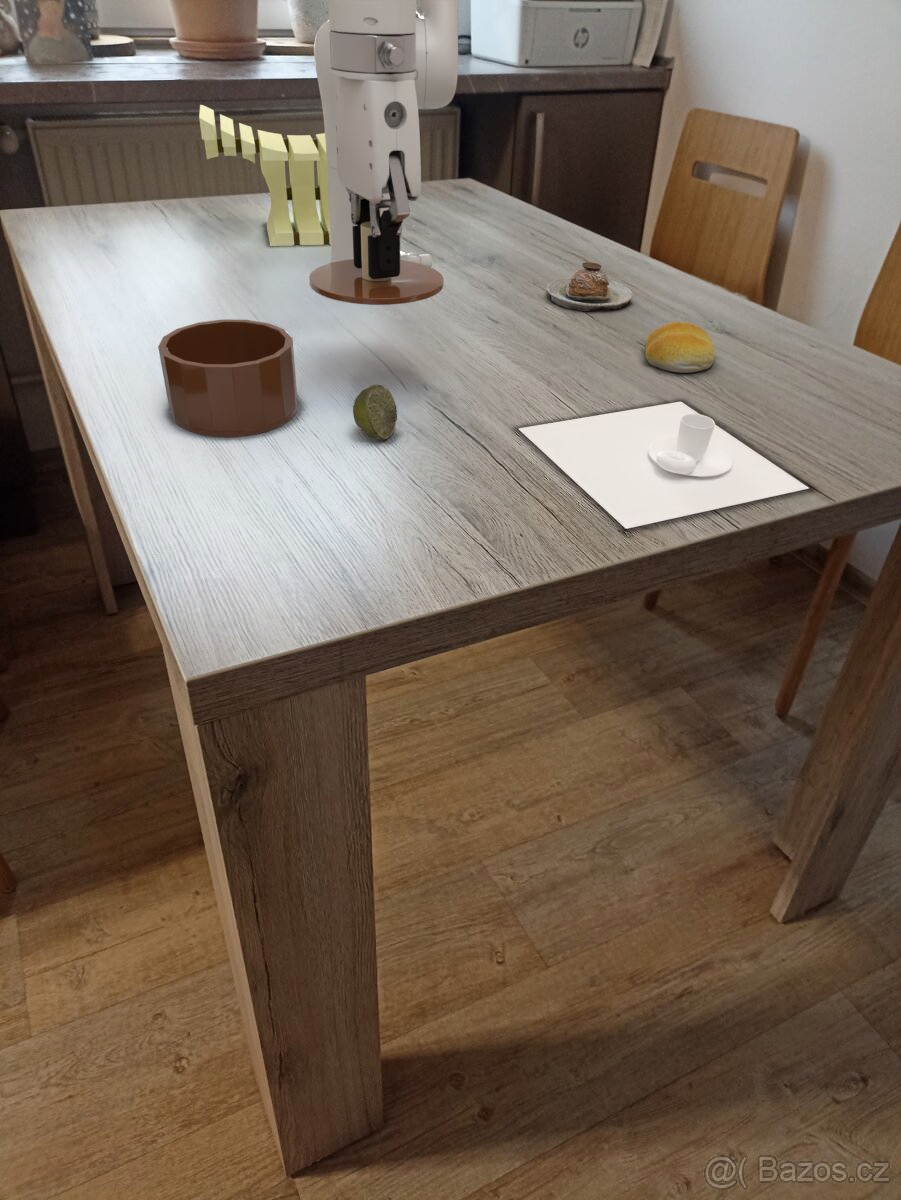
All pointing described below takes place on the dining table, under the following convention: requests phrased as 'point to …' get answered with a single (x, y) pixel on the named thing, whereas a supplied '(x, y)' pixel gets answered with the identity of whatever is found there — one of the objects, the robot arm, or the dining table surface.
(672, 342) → the bread roll
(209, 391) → the pot
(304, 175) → the slatted curved stool
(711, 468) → the teacup and saucer
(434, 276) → the lid
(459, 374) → the dining table surface
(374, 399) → the lime
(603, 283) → the pastry
